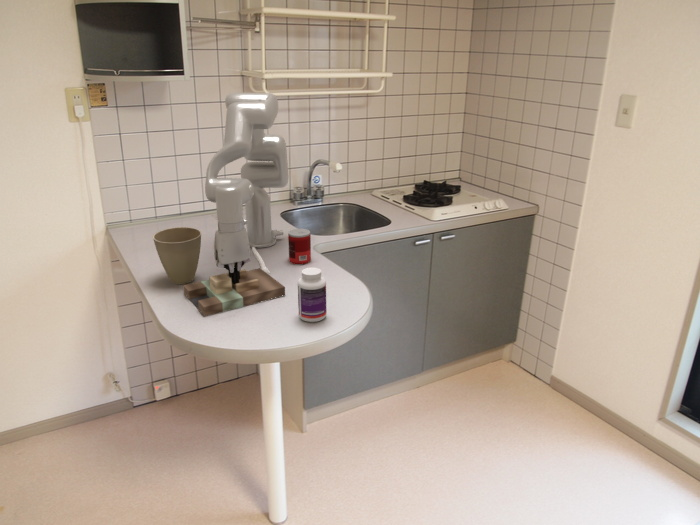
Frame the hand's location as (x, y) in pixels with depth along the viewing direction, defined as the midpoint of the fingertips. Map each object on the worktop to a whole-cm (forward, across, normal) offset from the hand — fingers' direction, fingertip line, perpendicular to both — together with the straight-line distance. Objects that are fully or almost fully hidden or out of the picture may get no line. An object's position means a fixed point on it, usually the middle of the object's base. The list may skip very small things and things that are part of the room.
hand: (234, 282), depth 177 cm
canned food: (+4, -31, -14) cm, 34 cm away
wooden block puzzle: (+4, 0, 0) cm, 4 cm away
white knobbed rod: (+5, -18, -22) cm, 28 cm away
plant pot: (+4, +10, -20) cm, 23 cm away
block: (+1, +5, 0) cm, 5 cm away
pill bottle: (+4, -13, +26) cm, 29 cm away
